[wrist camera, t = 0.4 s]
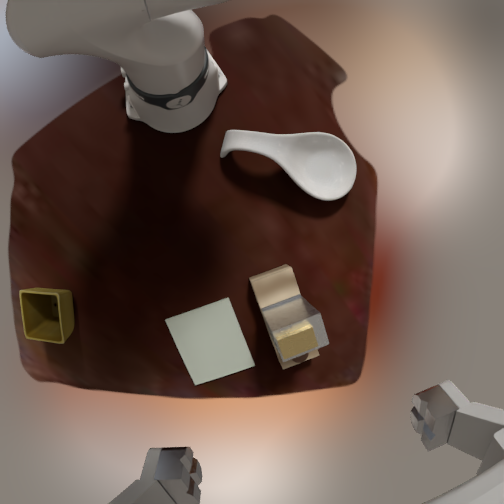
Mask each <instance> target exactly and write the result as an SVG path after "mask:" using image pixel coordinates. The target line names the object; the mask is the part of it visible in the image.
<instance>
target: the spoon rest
mask: <svg viewBox="0 0 504 504" xmlns="http://www.w3.org/2000/svg"><path fill="white" fill-rule="evenodd" d="M233 150H244V151H250V152H255V153H258V154H261V155H264V156H267V157H269V158H271V159H272V160H274V161H275V162H276V163H278V164H279V165H280V166H281V167H282V168H283V169H284V171H285V172H286V173H287V174H288V175H289V176H290V178H291V179H292V180H293V181H294V182H295V183H296V184H297V185H298V186H299V187H300V188H301V189H302V190H304V191H305V192H306V193H307V194H309V195H311V196H312V197H314V198H317V199H320V200H324V201H332V200H336V199H339V198H341V197H343V196H344V195H346V194H347V193H348V192H349V191H350V189H351V188H352V186H353V184H354V181H355V177H356V162H355V158H354V155H353V153H352V151H351V149H350V148H349V147H348V146H347V145H346V144H345V143H344V142H343V141H342V140H341V139H339V138H337V137H336V136H333V135H331V134H327V133H321V132H310V133H300V134H285V135H284V134H268V133H261V132H253V131H243V130H228V131H227V132H226V134H225V138H224V141H223V145H222V149H221V154H220V156H221V157H222V158H223V157H225V156H226V155H227V154H228V152H230V151H233Z"/></svg>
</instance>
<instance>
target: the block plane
mask: <svg viewBox="0 0 504 504" xmlns="http://www.w3.org/2000/svg"><path fill="white" fill-rule="evenodd" d="M249 280H250V282H251V285H252V288H253V291H254V294H255V296H256V299H257V302H258V305H259V307H260V310H261V313H262V311H264V310H267V309H269V308H272V307H275V306H277V305H280V304H282V303H285V302H288V301H290V300H293V299H296V298H298V297H301V295H300V292H299V289H298V286H297V282H296V279H295V276H294V273H293V270H292V267H290V266H288V265H287V264H286V265H283V266H280V267H278V268H275V269H272V270H270V271H267V272H264V273H261V274H259V275H256V276H253V277H250V278H249ZM262 316H263V313H262ZM263 319H264V316H263ZM264 321H265V319H264ZM265 324H266V321H265ZM266 327H267V324H266ZM267 330H268V327H267ZM268 332H269V330H268ZM269 335H270V332H269ZM270 338H271V335H270ZM271 341H272V343H273V346H274V349H275V351H276V354H277V357H278V360H279V362H280V364H281V366H282V369H286V368H288V367H291V366H294V365H296V364H299V363H301V362H304V361H306V360H309V359H311V358H314V357H316V356H318V355H319V352H318V349H316V350H313V351H311V352H309V353H306V354H304V355H301V356H299V357H296V358H293V359H291V360H288V361H286V362H283V361H282V359H281V357H280V355H279V353H278V351H277V348H276V346H275V344H274V342H273V340H272V338H271Z"/></svg>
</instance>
